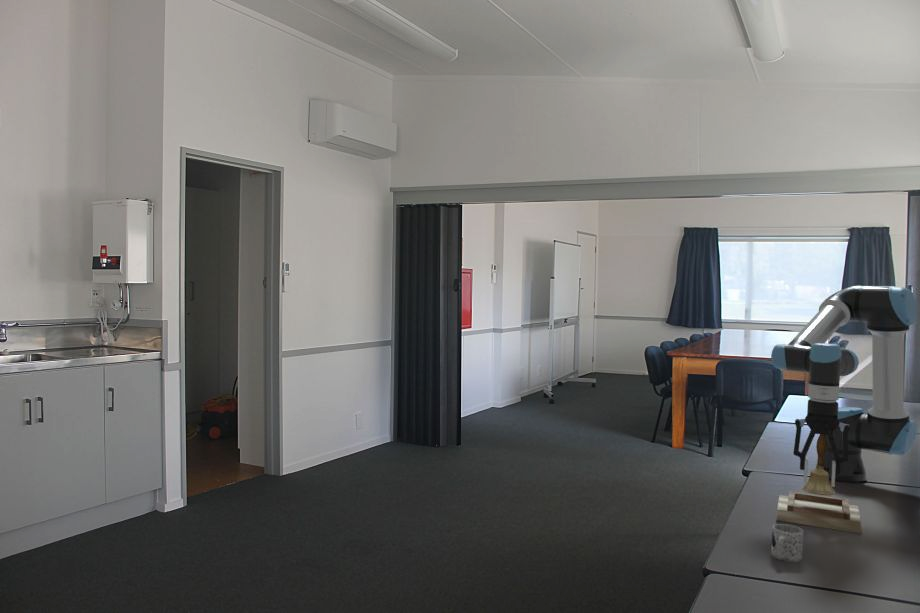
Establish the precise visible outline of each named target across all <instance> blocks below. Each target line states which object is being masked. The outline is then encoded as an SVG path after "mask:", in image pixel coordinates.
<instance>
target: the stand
mask: <svg viewBox="0 0 920 613" xmlns="http://www.w3.org/2000/svg"><path fill="white" fill-rule="evenodd" d="M776 508H777V509H776V521H779V520H780V522H787V523H793V524H800V525H805V526H812V527H818V528H824V529H825V528H826V529H833V530H838V531H843V532H851V533H858V534H861V529H862V528H861V525H862V523H861V522H862V520H861V515H860V509H859V506H858V505H854V504H853V505H852V504H849V499H848V498H843V497H834V496H826V495H817V494H812V493H806V492H799V491H798V492H797V491H791V490H789V492H788V495H783V494H779V497H778V503H777V507H776Z"/></svg>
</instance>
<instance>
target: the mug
mask: <svg viewBox="0 0 920 613" xmlns="http://www.w3.org/2000/svg"><path fill="white" fill-rule="evenodd" d="M803 546H804V529H803V528H801V527H799V526H797V525H793V524H787V523H776V524H773V525H772V531H771V550H770V551H771V552H770V554H771V556H772V557H773V558H775V559H777V560H780V561H784V562H791V563H793V562H794V563H797V562H801V561H802V560H803Z"/></svg>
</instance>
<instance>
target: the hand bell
mask: <svg viewBox="0 0 920 613" xmlns="http://www.w3.org/2000/svg"><path fill="white" fill-rule="evenodd" d="M826 450H827V440H826V437H825V435H824V434H819V436H818V438H817V440H816V453H817V461H816V462H817V463H816V465H817V468H816V467H815V469H813V470H810V474H809V478H808V479H807V483H805V484H804V485H803V486H802V487H801V489H802V491H804V492H805V493H806V492H807V494H813V495H821V496H828V497H832V496H835V495H836V493H837V492H836V490H835V489H834V488H833V487H831V481H830V479H829V474H828V472H826V471H825V470H824V467H823V466H824V456H825V453H826Z"/></svg>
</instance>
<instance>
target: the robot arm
mask: <svg viewBox="0 0 920 613" xmlns="http://www.w3.org/2000/svg"><path fill="white" fill-rule="evenodd" d="M917 315H918V308H917V301H916V298H915V295H914V293H913V292H912V290H911V289H909V288H908V287H902V286H894V285H892V286H891V285H852V286H848V287H844V288H843V289H840V290H838V291H835V293H833V294H831V295H829V296H828V297H827V298H826V299H824V300H823V301H822V303H820V305H819V307H818V311H817V313H816V314H815V315H814V316H813V318H811V319H810V320H809V322H807V323H806V324H805V326H803V328H802V329H801V330H800V331H799V332H798V334H796V336H794V337H793V339H791V341H790V342H789V343H788V344H785V343H783V344H782V343H781V344H780V343H779V344H778V343H777V344H775V345H774V346H773V348H772V351H771V354H770V355H771V356H770V359H771V364H772V366H773V368H775V369H778V370H783V371H784V370H785V371H790V372H791V371H792V372H801V373H809V374H808V375H809V376H808V377H809V378H808V391H807V393H808V394H807V395H808V396H807V397H808V398H809V399H808V400H807V410H806V411H807V412H806V413H807V414H806V416H805V418H795V420H794V424H795V428H796V429H795V430H796V431H795V439H794V445H793V455H794V456H795V457H798V458H799V462H800V463H799V469H800V470H801V471H804V474H803V484H806V483H807V482H808V471H809V470H808V469H809V468H808V467H809V466H808V465H809V458H808V457H807V454H808V452H809V450H810V447H811V445H812V442H813V440H814V438H815V436H816V435H820V434H824V435H825V437H826V440H827V450H826V453H825V456H824V466H823V467H824V470H825V471H826V472H828V474H829V480H831V481H830V485H831V487H832V488H833V487H834V488H835V484H836V481H838V482H846V483H860V482H865V481H866V480H867V471H866V467H865V464H864V461H863V457H862V450H866V451H872V452H876V453H882V454H888V455H890V456H892V455H893V456H902V457H903V456H906V455H907V454H908V453H909V452H910V451H911V449H912V447H913V445H914V443H915V439H916V435H917V422H916V421H915V420H912V419H910V413H909V411H908V410H906V409H905V407H904V402H905V400H904V398H905V397H904V394H905V393H904V380H905V378H904V375H905V374H904V372H905V371H904V370H905V369H904V366H905V365H904V364H905V363H904V360H905V357H904V356H905V352H904V351H905V350H904V347H905V346H904V345H905V344H904V343H905V342H904V341H905V338H904V337H905V336H904V335H905V334H906V333H907V332H908V331H910V326H912V325H914V324H915V323H916V321H917ZM850 322H856V323H857V322H860V323H866V330H867V331H869V332H870V333H871V335H872V338H871V339H872V340H871V343H872V346H871V347H872V350H871V351H872V353H871V354H872V358H871V359H872V361H871V362H872V364H871V365H872V406H871V407H870V408H869V409H867V413H865V411H864V409H863V408H862V407H853V406H849V407H848V406H847V407H846V406H845V407H844V406H843V407H840V406H839V402H838V400H840V380H841V378H840V377H846V376H848V375H851V374H853V373H854V372H856V371H857V369H858V367H859V361H860V360H859V358H858V356H857V354H856V353H855V351H853V350H851V349H847V348H841V346H840V345H839V344H836V343H827V342H828V340H829V339H830V338H831V337H832V336H833V334H834V333H836V332H837V330H838V329H839V327H843V326H845V325H847V324H848V323H850ZM805 423H806V425H807V426H808V428H809V429H810V431H809V434H808V436H807V437H806V438H807V439H806V441H805V443H804V445H803V448H802V449H801V450H802V451H799V450H800V443H801V435H802V428H803V427H804V426H805ZM816 468H817V464H816V465H815V469H816Z"/></svg>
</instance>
